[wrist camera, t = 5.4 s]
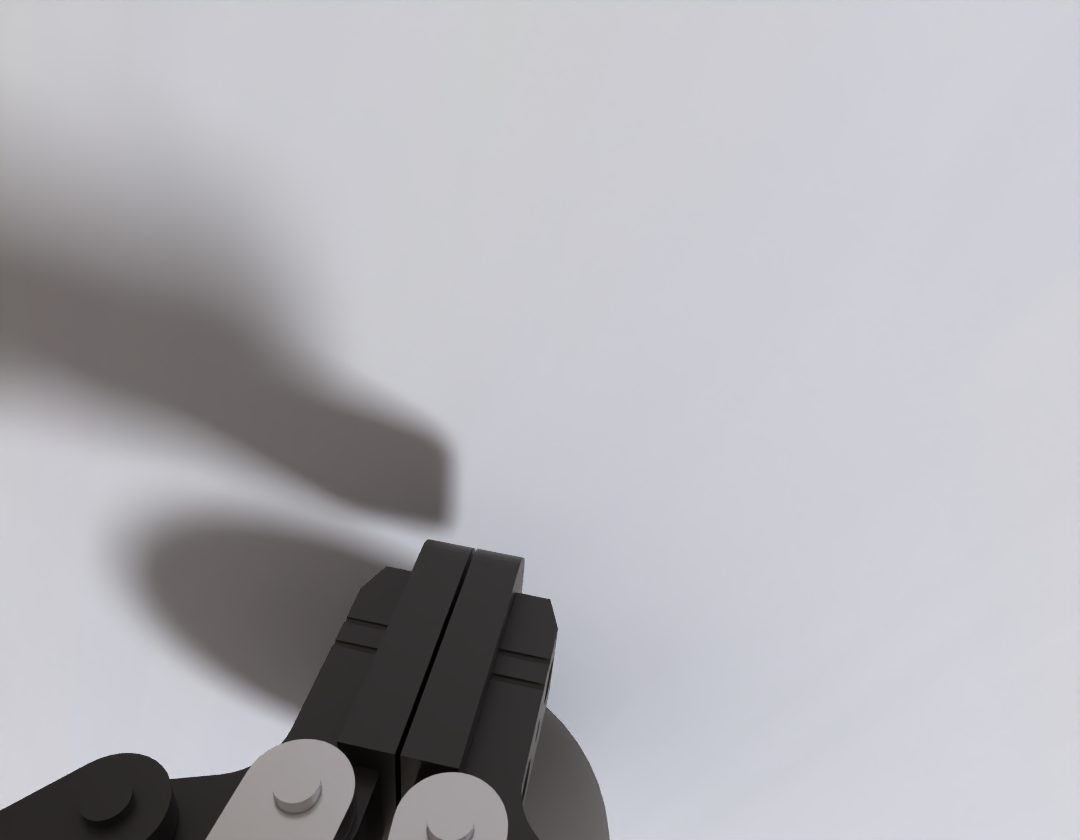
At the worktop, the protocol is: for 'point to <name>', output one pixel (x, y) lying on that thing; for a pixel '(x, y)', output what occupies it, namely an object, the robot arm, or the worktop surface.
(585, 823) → the dark gray ball
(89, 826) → the robot arm
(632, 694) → the worktop surface
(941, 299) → the worktop surface
